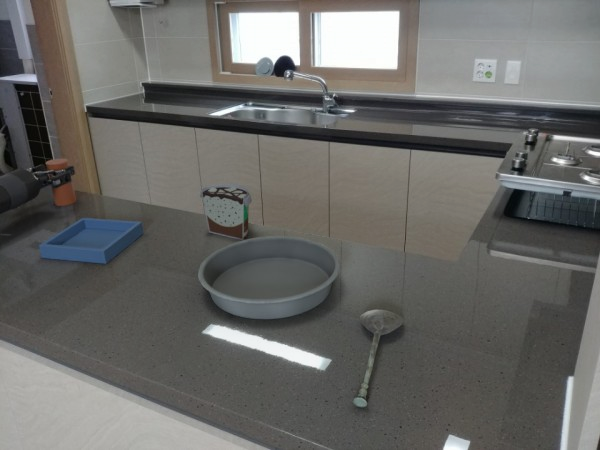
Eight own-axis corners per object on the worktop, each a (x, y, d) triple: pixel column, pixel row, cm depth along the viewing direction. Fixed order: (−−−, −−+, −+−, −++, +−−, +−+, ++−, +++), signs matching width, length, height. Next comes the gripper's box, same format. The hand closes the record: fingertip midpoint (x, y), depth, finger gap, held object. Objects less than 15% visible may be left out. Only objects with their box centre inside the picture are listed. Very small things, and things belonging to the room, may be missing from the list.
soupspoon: (405, 320, 85) (364, 316, 87) (405, 301, 84) (364, 298, 86) (385, 413, 65) (333, 405, 67) (385, 390, 64) (331, 383, 66)
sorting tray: (41, 257, 109) (38, 245, 108) (85, 228, 122) (82, 217, 121) (106, 264, 105) (103, 251, 104) (143, 233, 118) (141, 221, 117)
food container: (265, 231, 117) (262, 187, 114) (249, 241, 113) (245, 197, 109) (221, 221, 123) (216, 180, 119) (203, 231, 119) (198, 188, 115)
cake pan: (287, 244, 111) (286, 224, 109) (369, 291, 92) (370, 268, 91) (177, 282, 98) (174, 260, 96) (247, 345, 79) (245, 319, 77)
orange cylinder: (50, 205, 137) (40, 163, 132) (63, 198, 141) (54, 158, 137) (68, 206, 136) (59, 164, 131) (80, 199, 140) (72, 158, 136)
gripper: (35, 175, 117) (80, 155, 132) (-19, 173, 121) (30, 153, 135) (43, 207, 120) (86, 184, 135) (-10, 204, 124) (37, 181, 138)
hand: (58, 168), depth 135 cm, fingers open, 8 cm apart
